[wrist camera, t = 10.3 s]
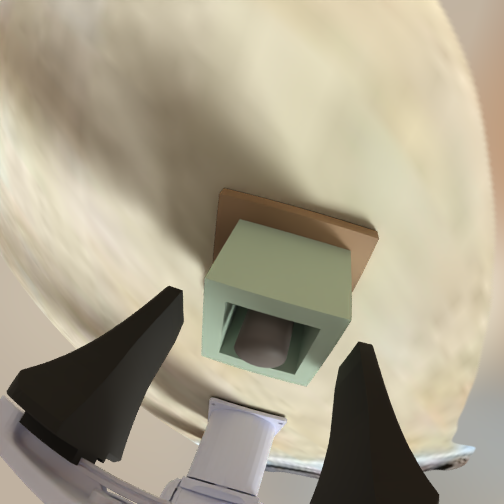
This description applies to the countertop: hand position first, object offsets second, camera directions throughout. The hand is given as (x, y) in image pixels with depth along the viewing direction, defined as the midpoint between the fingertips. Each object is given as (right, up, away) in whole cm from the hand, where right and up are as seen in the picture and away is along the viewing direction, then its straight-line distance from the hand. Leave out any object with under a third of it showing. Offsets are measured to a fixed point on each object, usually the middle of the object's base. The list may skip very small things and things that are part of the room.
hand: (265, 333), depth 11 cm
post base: (+1, +2, +3) cm, 4 cm away
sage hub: (+1, +2, +3) cm, 3 cm away
